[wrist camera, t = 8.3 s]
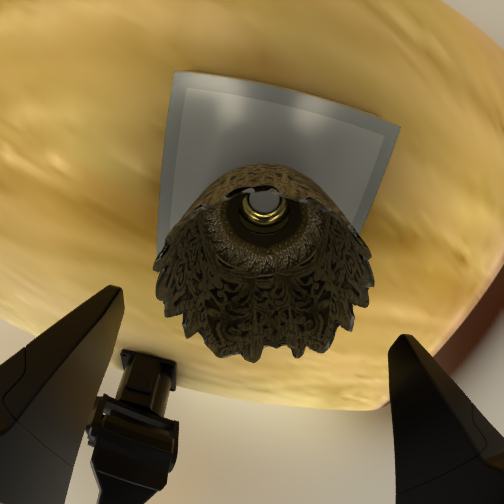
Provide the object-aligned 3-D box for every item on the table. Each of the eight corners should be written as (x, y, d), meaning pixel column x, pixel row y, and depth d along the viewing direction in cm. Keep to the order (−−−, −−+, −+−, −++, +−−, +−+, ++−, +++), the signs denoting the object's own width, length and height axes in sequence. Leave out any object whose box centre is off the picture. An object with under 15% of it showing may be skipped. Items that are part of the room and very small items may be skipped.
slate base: (324, 268, 23) (331, 296, 20) (168, 238, 22) (156, 263, 19) (381, 117, 16) (401, 127, 13) (188, 70, 15) (174, 71, 12)
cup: (208, 257, 19) (182, 365, 12) (186, 141, 15) (122, 210, 8) (329, 251, 18) (357, 358, 11) (332, 130, 14) (391, 192, 7)
